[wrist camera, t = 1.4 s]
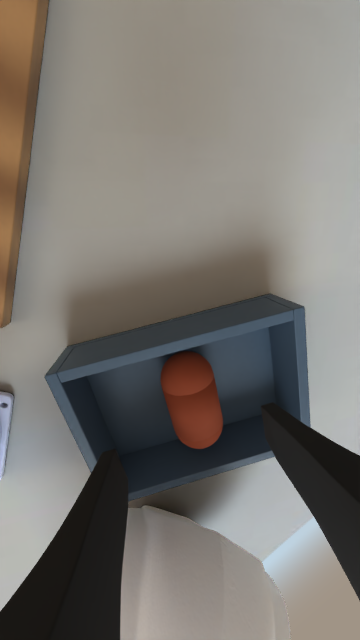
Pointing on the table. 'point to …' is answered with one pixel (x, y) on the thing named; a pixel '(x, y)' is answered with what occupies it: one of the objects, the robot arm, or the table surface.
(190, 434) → the sweet potato
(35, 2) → the oak board
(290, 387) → the low basket
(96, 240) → the table surface
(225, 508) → the table surface
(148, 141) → the table surface
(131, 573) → the decorative rooster
